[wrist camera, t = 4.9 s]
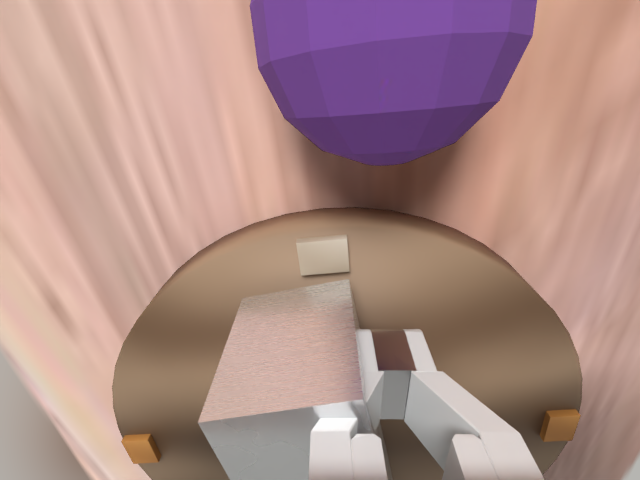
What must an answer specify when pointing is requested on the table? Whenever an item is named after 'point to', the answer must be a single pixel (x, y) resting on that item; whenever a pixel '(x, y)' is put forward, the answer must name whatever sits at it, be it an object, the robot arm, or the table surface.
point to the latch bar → (286, 381)
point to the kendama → (388, 69)
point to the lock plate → (372, 312)
